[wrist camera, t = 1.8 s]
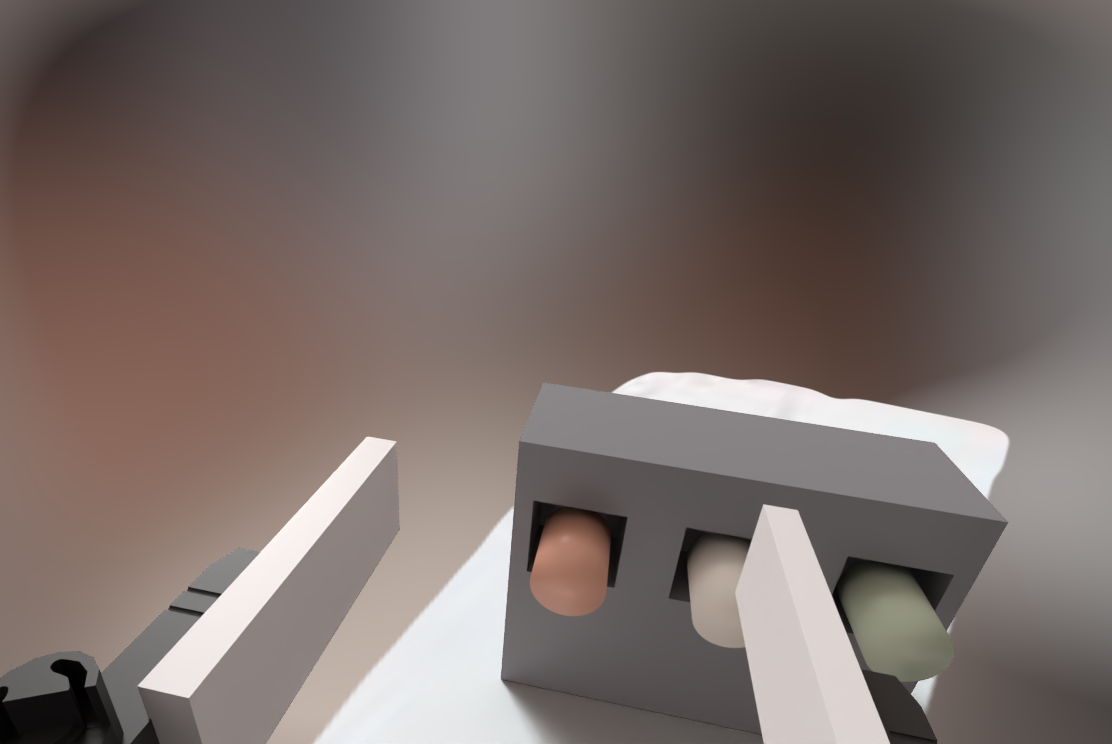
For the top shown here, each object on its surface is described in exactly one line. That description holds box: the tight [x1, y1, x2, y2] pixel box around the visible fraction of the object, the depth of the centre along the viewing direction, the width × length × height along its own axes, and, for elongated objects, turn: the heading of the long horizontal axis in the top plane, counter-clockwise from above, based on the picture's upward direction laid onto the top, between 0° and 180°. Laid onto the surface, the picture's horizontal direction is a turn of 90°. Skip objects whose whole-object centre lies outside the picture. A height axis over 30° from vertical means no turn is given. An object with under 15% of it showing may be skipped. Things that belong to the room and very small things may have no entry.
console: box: [501, 383, 1008, 734], centre depth 33 cm, size 23×7×18 cm, turn 81°
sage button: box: [837, 560, 955, 682], centre depth 27 cm, size 4×4×4 cm
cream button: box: [687, 532, 751, 648], centre depth 28 cm, size 4×4×4 cm
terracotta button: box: [530, 506, 611, 616], centre depth 28 cm, size 4×4×4 cm
